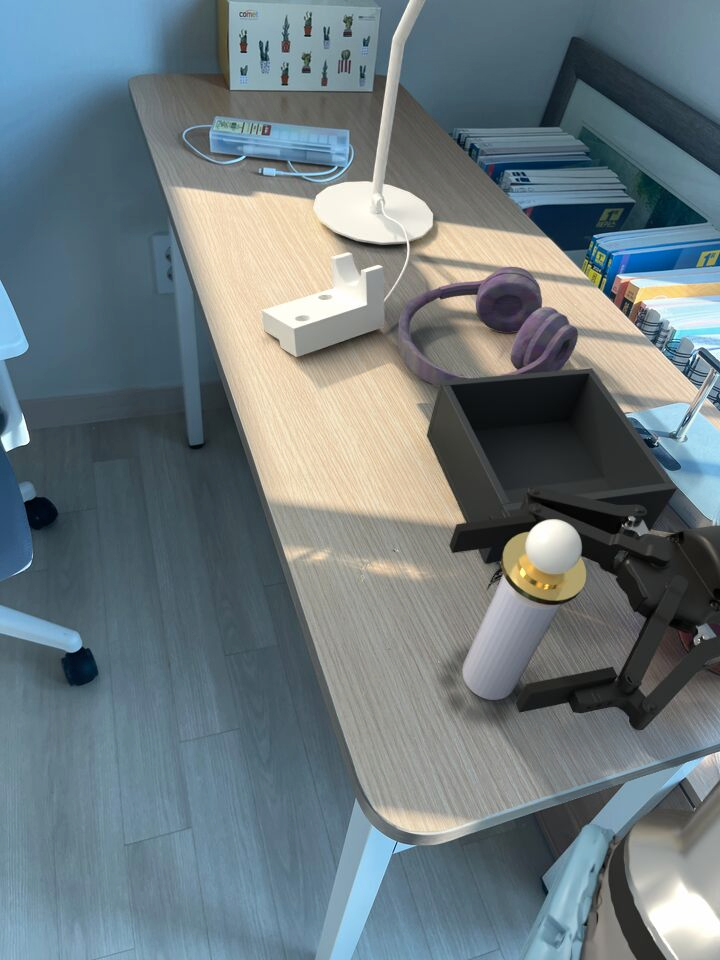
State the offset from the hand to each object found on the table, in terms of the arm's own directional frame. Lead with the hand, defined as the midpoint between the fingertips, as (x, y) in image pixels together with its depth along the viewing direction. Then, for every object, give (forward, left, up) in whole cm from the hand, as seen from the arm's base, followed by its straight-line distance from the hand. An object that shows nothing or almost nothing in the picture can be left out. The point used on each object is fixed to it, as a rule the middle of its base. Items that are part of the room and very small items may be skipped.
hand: (485, 612), depth 54 cm
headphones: (+42, -18, -11) cm, 47 cm away
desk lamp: (+67, -14, -11) cm, 69 cm away
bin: (+20, -16, -11) cm, 28 cm away
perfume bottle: (0, -3, -11) cm, 12 cm away
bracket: (+49, 0, -11) cm, 50 cm away
